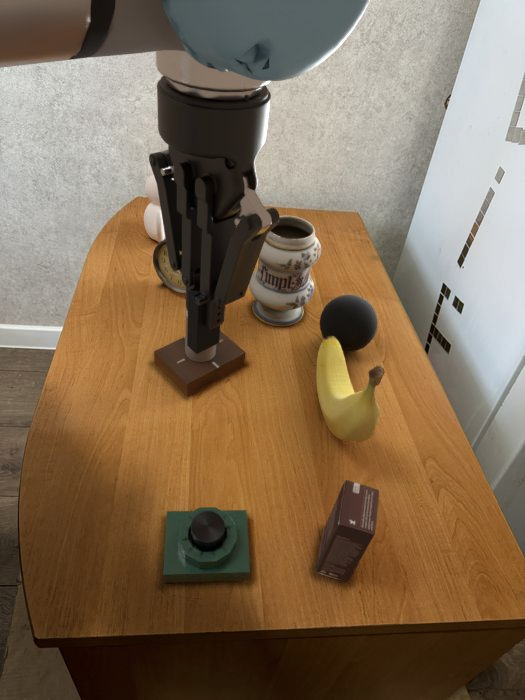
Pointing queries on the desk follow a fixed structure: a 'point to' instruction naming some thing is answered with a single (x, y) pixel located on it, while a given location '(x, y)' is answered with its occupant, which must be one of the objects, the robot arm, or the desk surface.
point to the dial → (201, 356)
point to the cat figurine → (153, 209)
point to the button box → (206, 565)
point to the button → (207, 530)
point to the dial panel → (198, 364)
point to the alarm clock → (167, 269)
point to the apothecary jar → (285, 272)
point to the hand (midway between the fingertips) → (203, 344)
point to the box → (348, 531)
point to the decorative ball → (349, 322)
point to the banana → (345, 395)
